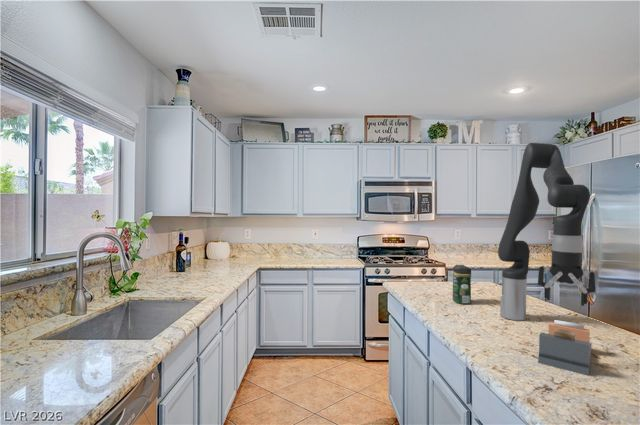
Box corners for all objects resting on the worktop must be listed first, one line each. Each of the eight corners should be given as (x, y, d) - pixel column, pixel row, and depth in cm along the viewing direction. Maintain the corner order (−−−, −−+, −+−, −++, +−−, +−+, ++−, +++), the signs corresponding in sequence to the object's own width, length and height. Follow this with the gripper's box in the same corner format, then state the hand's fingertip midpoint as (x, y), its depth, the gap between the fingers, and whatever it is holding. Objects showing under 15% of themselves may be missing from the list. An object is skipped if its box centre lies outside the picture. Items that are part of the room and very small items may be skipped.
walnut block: (553, 354, 105) (554, 331, 105) (555, 350, 109) (555, 328, 108) (574, 358, 102) (574, 335, 102) (574, 354, 105) (575, 331, 105)
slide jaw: (548, 338, 118) (548, 319, 118) (549, 336, 120) (549, 317, 120) (588, 347, 111) (589, 327, 111) (589, 344, 113) (589, 324, 113)
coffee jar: (450, 299, 177) (451, 263, 177) (466, 300, 176) (467, 263, 176) (455, 304, 167) (456, 266, 167) (472, 305, 166) (473, 267, 166)
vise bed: (538, 362, 104) (538, 336, 104) (548, 340, 122) (548, 317, 122) (588, 375, 96) (588, 347, 96) (591, 349, 114) (591, 325, 114)
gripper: (537, 248, 107) (536, 300, 107) (596, 253, 97) (594, 310, 98) (541, 246, 112) (539, 296, 113) (596, 250, 103) (595, 304, 103)
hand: (565, 302), depth 105 cm, fingers open, 8 cm apart
